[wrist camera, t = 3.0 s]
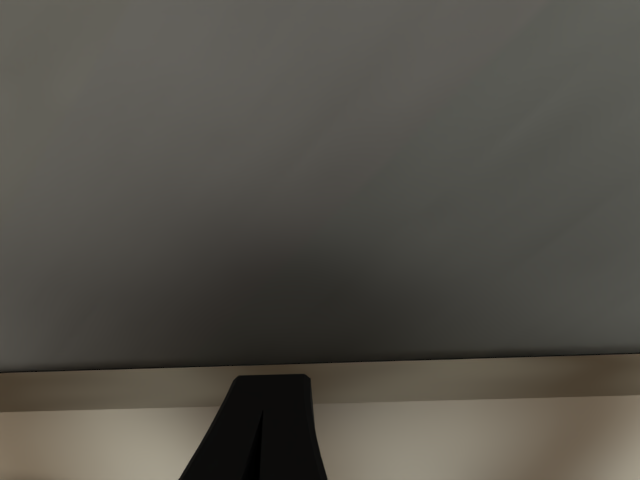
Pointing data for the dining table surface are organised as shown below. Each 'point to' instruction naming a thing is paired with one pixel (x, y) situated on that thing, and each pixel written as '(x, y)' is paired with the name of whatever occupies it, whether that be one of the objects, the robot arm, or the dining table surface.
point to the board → (340, 419)
